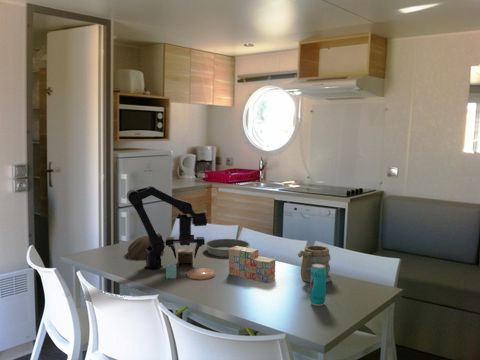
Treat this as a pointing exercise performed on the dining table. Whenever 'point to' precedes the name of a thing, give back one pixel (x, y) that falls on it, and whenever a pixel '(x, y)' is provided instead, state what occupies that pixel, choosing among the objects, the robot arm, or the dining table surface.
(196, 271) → the dish
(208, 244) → the cake pan
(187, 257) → the brown wooden open box
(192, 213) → the robot arm
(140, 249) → the decorative dome
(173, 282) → the dining table surface
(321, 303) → the beverage can
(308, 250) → the tankard
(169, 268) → the block
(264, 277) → the stack of blocks
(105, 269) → the dining table surface
